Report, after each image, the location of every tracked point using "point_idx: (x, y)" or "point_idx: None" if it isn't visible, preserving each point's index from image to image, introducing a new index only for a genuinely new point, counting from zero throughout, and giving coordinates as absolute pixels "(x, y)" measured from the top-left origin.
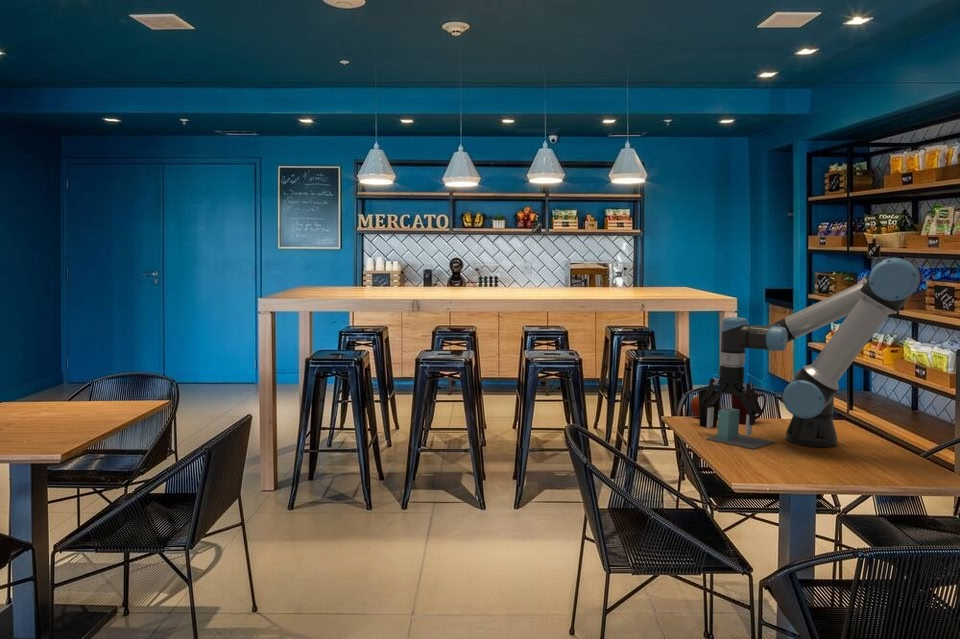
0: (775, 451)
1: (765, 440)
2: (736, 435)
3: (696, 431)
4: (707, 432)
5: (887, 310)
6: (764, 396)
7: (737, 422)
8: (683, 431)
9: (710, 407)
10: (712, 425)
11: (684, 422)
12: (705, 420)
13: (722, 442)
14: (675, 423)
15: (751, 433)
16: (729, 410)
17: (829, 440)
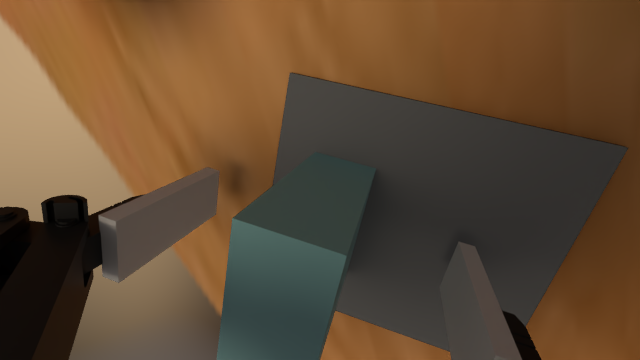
0: (624, 353)
1: (556, 158)
2: (369, 191)
3: (165, 143)
4: (208, 130)
5: None
6: None
7: (359, 221)
8: (131, 182)
9: (105, 248)
10: (214, 179)
11: None
12: None
13: (337, 308)
14: (22, 29)
15: (475, 252)
16: (278, 342)
17: None
